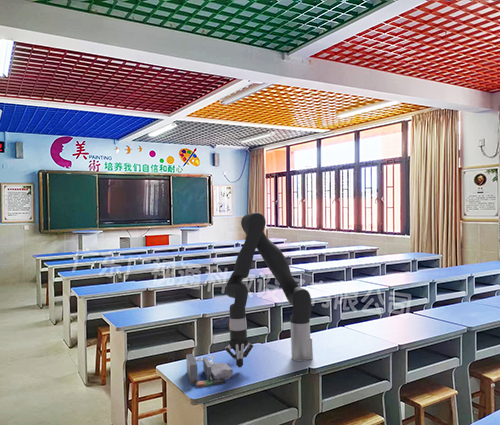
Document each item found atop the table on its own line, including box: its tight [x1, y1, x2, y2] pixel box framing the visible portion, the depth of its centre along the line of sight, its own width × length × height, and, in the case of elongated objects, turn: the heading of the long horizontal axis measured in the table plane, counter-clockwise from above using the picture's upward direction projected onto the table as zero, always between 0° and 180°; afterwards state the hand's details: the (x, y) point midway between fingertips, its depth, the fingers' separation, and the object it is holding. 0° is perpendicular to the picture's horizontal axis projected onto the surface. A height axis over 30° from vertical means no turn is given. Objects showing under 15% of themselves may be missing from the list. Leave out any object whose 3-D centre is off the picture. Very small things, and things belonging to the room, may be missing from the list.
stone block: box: [210, 362, 234, 380], centre depth 179 cm, size 12×5×10 cm
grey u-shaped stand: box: [185, 353, 226, 388], centre depth 176 cm, size 14×18×8 cm
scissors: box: [195, 354, 216, 364], centre depth 195 cm, size 11×1×20 cm
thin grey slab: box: [202, 356, 213, 381], centre depth 176 cm, size 2×18×6 cm, turn 15°
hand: (239, 366), depth 182 cm, fingers closed
